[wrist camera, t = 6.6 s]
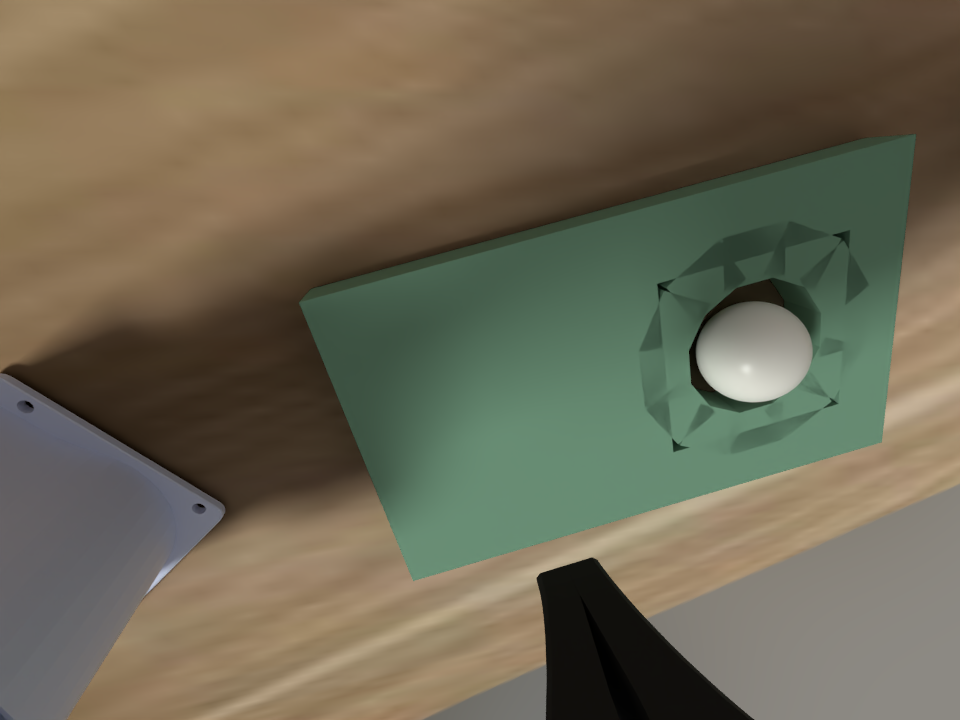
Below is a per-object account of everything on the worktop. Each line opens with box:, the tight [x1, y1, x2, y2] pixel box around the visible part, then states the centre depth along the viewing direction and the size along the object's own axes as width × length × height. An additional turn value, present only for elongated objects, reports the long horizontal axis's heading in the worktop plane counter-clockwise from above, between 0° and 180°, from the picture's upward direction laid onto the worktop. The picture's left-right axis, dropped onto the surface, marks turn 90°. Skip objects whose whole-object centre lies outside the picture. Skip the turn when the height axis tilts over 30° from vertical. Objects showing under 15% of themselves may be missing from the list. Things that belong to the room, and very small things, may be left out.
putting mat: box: [299, 134, 916, 581], centre depth 19 cm, size 22×13×2 cm, turn 104°
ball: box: [696, 301, 813, 402], centre depth 19 cm, size 4×4×4 cm
